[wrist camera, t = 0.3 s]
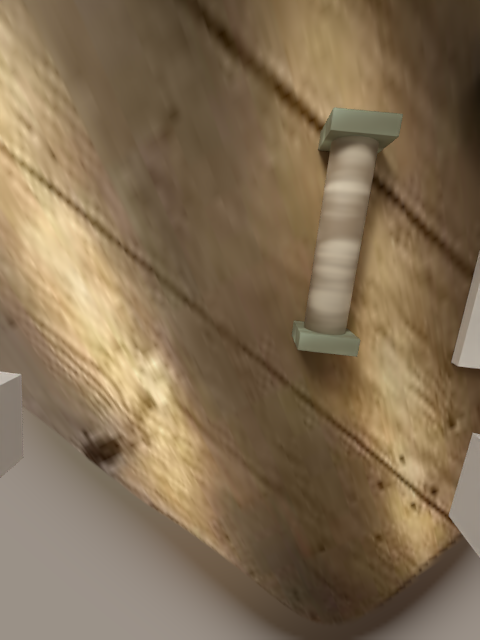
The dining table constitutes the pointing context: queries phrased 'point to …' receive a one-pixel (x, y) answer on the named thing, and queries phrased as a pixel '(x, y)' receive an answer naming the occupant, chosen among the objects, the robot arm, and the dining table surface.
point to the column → (342, 225)
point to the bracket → (470, 327)
